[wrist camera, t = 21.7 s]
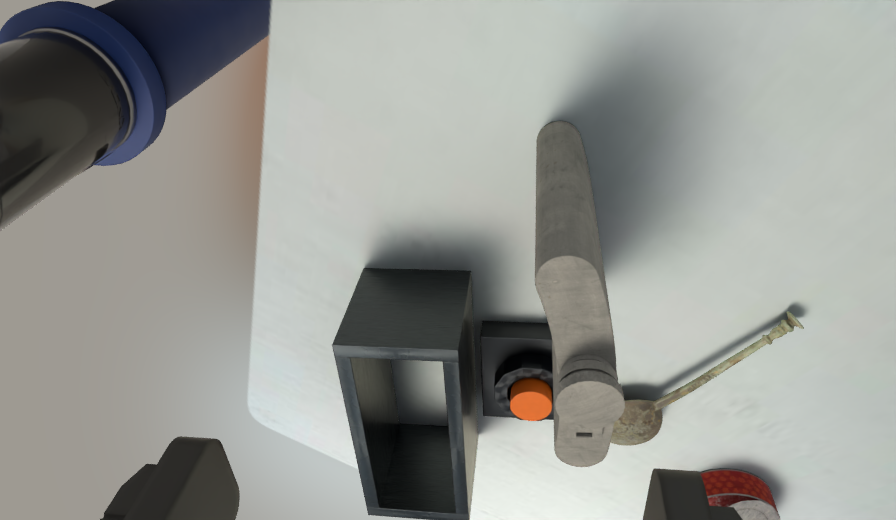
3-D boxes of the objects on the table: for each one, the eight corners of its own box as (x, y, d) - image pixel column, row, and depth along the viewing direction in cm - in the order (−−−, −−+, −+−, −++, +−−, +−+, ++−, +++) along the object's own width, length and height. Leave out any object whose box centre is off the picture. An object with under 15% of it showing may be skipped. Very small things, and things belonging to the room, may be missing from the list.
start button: (510, 405, 56) (509, 419, 55) (510, 376, 54) (509, 390, 53) (551, 407, 56) (551, 422, 55) (552, 378, 54) (552, 392, 53)
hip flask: (534, 123, 45) (531, 288, 29) (592, 116, 44) (622, 282, 28) (552, 298, 54) (557, 502, 37) (600, 295, 53) (627, 502, 36)
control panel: (484, 399, 62) (481, 430, 58) (482, 320, 56) (478, 350, 53) (577, 404, 60) (579, 436, 57) (584, 324, 55) (587, 355, 52)
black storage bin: (387, 430, 66) (365, 514, 58) (360, 267, 54) (328, 344, 46) (478, 435, 65) (469, 523, 56) (471, 270, 53) (458, 350, 45)
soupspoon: (567, 407, 62) (611, 438, 64) (568, 435, 59) (614, 467, 61) (773, 290, 50) (817, 333, 52) (786, 318, 48) (832, 363, 50)
